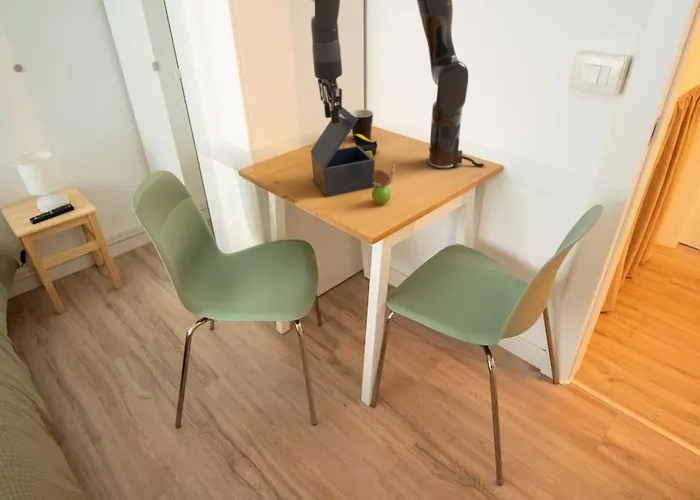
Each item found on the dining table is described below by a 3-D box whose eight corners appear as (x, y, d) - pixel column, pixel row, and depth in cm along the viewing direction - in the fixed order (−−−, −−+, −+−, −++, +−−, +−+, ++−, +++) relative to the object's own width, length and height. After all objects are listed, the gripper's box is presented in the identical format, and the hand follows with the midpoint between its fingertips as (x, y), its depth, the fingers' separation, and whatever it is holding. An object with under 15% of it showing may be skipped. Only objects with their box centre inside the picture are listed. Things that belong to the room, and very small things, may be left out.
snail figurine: (392, 208, 132) (393, 169, 125) (370, 206, 133) (370, 168, 126) (394, 199, 136) (395, 161, 129) (373, 197, 137) (372, 160, 130)
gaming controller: (341, 162, 159) (369, 166, 156) (340, 147, 156) (368, 150, 153) (355, 146, 170) (381, 149, 167) (354, 132, 167) (381, 134, 164)
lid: (342, 106, 139) (328, 97, 136) (358, 119, 129) (343, 109, 126) (312, 152, 144) (298, 144, 140) (324, 168, 134) (310, 160, 130)
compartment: (359, 171, 153) (358, 145, 148) (374, 187, 143) (374, 160, 138) (313, 179, 149) (311, 153, 144) (325, 197, 139) (324, 169, 134)
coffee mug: (355, 134, 181) (354, 108, 175) (376, 136, 178) (376, 110, 172) (343, 145, 172) (342, 118, 166) (365, 147, 169) (365, 120, 163)
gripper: (349, 61, 119) (353, 125, 129) (331, 50, 130) (336, 110, 140) (322, 65, 117) (327, 130, 127) (306, 54, 128) (312, 115, 138)
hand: (332, 119), depth 133 cm, fingers closed on lid, 5 cm apart
